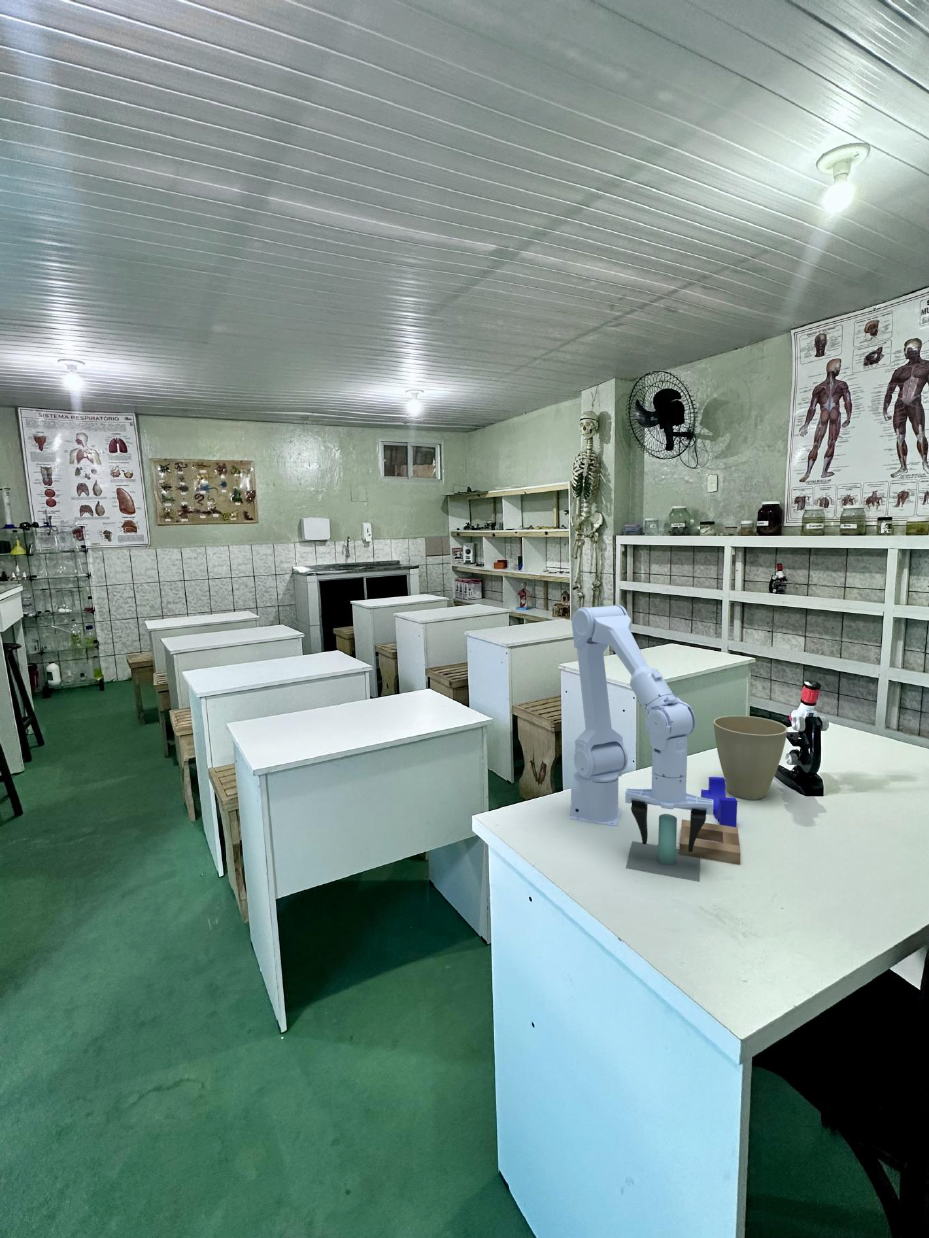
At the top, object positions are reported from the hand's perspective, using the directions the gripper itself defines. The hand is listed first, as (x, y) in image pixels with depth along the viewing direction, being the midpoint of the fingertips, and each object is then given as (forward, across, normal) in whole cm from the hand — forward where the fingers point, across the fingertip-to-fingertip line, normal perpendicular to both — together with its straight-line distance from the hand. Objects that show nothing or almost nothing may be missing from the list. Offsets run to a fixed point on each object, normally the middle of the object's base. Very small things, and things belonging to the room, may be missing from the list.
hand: (667, 845), depth 105 cm
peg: (+3, 0, 0) cm, 3 cm away
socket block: (+3, +7, +8) cm, 11 cm away
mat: (+3, 0, 0) cm, 3 cm away
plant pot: (+3, +15, +37) cm, 40 cm away
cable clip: (+4, +9, +23) cm, 25 cm away
